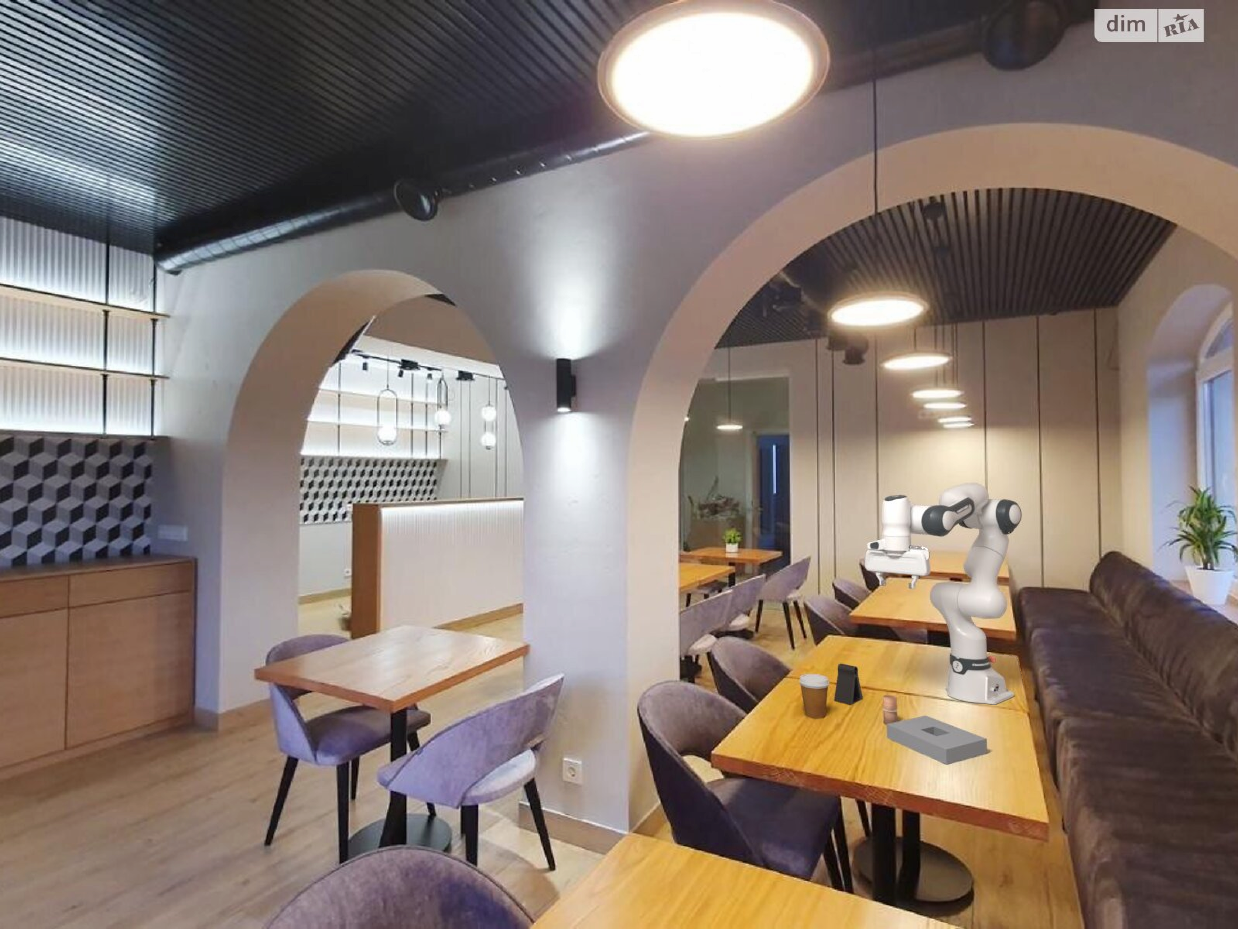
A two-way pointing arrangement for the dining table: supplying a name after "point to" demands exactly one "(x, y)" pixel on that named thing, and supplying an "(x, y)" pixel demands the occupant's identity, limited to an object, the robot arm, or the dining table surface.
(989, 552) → the robot arm
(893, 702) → the terracotta peg
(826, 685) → the disposable coffee cup
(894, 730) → the gray board
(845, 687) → the phone stand
